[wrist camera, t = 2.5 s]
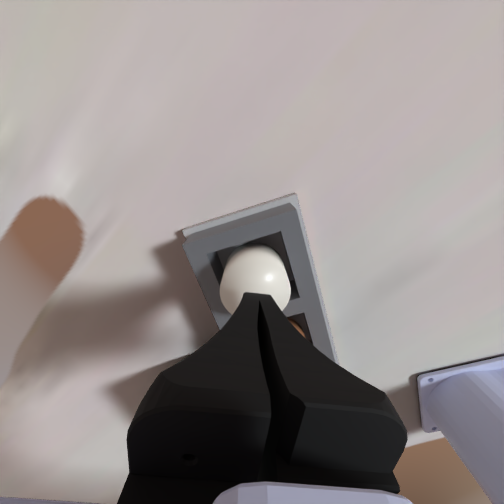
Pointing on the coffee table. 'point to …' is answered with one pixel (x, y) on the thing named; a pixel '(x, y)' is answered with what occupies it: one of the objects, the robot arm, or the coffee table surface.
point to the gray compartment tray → (279, 238)
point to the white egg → (254, 275)
